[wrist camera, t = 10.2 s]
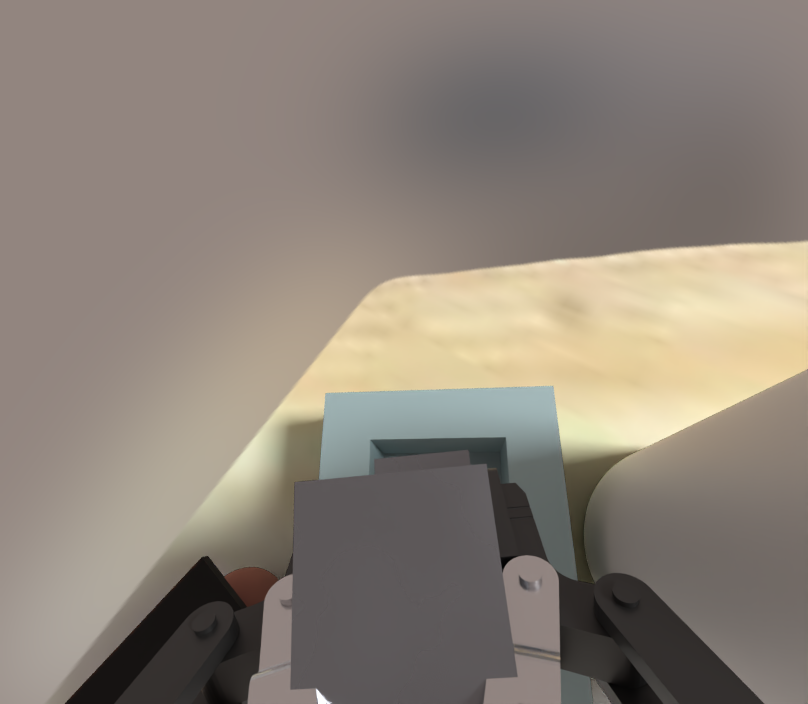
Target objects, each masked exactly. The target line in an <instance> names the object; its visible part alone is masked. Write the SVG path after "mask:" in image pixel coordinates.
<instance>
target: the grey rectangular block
mask: <svg viewBox="0 0 808 704" xmlns="http://www.w3.org/2000/svg"><path fill="white" fill-rule="evenodd" d="M374 466H375V474H374V475H364V476H353V477H343V478H332V479H322V480H312V481H301V482H295V487H294V535H293V582H292V630H291V677H290V690H296V689H314V688H316V691H317V697H318V704H483V703H484V695H485V687H486V679H494V678H512V677H518V675H517V668H516V661H515V654H514V648H513V641H512V634H511V627H510V620H509V614H508V607H507V600H506V593H505V586H504V580H503V573H502V566H501V559H500V553H499V546H498V539H497V532H496V525H495V519H494V512H493V505H492V498H491V491H490V485H489V478H488V471H487V464H477V465H471V464H470V457H469V450H461V451H451V452H440V453H430V454H420V455H410V456H400V457H390V458H380V459H374Z"/></svg>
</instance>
